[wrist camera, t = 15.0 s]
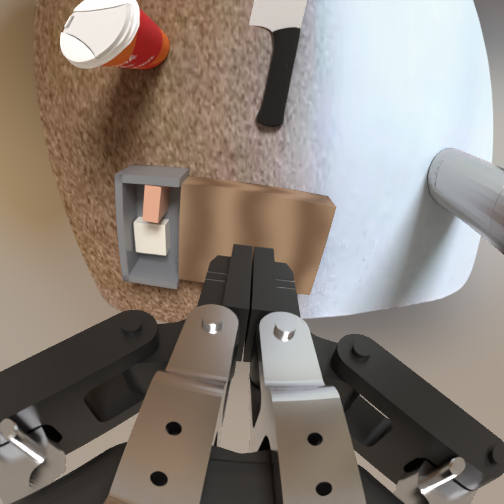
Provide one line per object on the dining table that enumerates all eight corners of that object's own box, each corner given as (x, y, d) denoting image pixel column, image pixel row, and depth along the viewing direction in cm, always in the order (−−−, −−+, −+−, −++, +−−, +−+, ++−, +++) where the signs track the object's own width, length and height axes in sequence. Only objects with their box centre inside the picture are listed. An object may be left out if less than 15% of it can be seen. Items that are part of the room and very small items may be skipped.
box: (189, 168, 33) (179, 178, 28) (184, 268, 40) (177, 289, 36) (131, 164, 32) (114, 174, 28) (134, 261, 40) (123, 280, 35)
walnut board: (327, 196, 34) (336, 206, 31) (305, 278, 41) (309, 294, 37) (188, 176, 33) (181, 184, 30) (184, 263, 40) (178, 279, 36)
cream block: (133, 222, 34) (138, 216, 35) (136, 252, 36) (140, 245, 38) (165, 225, 34) (169, 219, 36) (166, 255, 36) (169, 248, 38)
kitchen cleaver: (260, -74, 14) (336, -62, 14) (261, -68, 15) (335, -56, 15) (208, 115, 29) (292, 132, 29) (211, 115, 31) (292, 131, 31)
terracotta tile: (161, 187, 29) (144, 184, 29) (157, 223, 31) (142, 220, 31) (171, 176, 33) (157, 174, 33) (168, 209, 35) (154, 206, 35)
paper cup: (111, 67, 25) (43, 59, 13) (139, 17, 22) (83, -16, 10) (160, 85, 27) (104, 77, 15) (191, 33, 24) (153, -6, 12)
